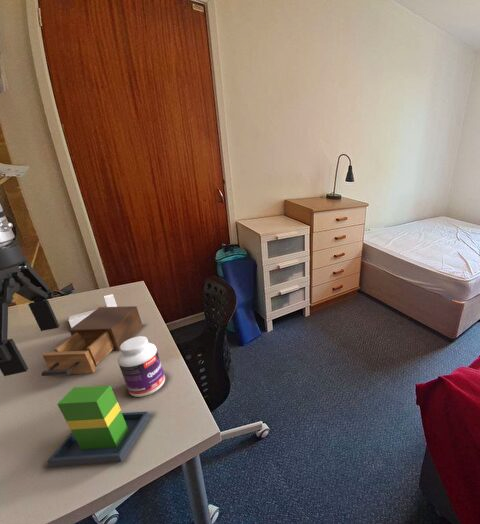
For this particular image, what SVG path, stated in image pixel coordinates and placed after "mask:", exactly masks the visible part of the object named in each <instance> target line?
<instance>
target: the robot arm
mask: <svg viewBox="0 0 480 524" xmlns="http://www.w3.org/2000/svg"><path fill="white" fill-rule="evenodd" d="M13 228H14V225H13V223H12V222H9V221H8V218H7V216H6V214H5V212H4V209H3V207H2V205H1V203H0V371H1V373H2V375H3V377H7V376H12V375H17V374H20V373H26V372H27V371H28V370H29V367H28V365H27V363H26V362H25V361H26V360H25V359H24V358H23V356H22V353H21V352H20V350H19V348H18V346H17V345H16V342H15V341H14V339H13V338H8V333H9V332H8V331H9V305H10V304H11V303H12V302H13V296H14V295H15V294H16V295H19V296H20V297H22V298H24V299H26V300H27V301H30V302H29V303H28V304H27V305H28V307H29V308H30V311H31V313H32V316H33V317H34V319H35V321H36V324H37V326H38V328H39V330H40V332H44V331H48V330H49V331H50V330H56V329H59V328H60V323H59V322H58V319H57V317H56V315H55V313H54V310H53V308H52V306H51V304H50V301H49V300H50V299H54V293H53V292H52V288H51V287H50V285H48V283H47V282H46V281H45V280H44V279H43V278H42V276H40V275H39V273H38V272H37V271H36V270H35V268H33V267H32V265H31V263H30V261H29V260H28V258H27V257H25V254H24V252H23V250H22V247H21V246H20V243H19V242H18V241H16V240H14V239H15V238H16V236H15V234H14V232H13V231H14V230H13Z"/></svg>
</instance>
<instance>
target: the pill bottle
mask: <svg viewBox="0 0 480 524" xmlns="http://www.w3.org/2000/svg"><path fill="white" fill-rule="evenodd" d="M117 364H118V366H119V369H120V371H121V374H122V377H123V380H124V383H125V385H126V387H127V391H128V393H129V394H130V395H131V396H133V397H137V398H138V397H139V398H140V397H141V398H142V397H145V396H148V395H149V396H150V395H151V394H153V393H155V392H157V391H158V390H159V389H161V388H162V386H163V385H164V384H165V381H166V374H165V372H164V368H163V366H162V362H161V359H160V355H159V353H158V349H157V347H156V345H155V344H154V343H151V342H149V340H148V338H147V337H146V336H143V335H141V336H140V335H138V336H133V337H132V338H130V339H128V340H126V341H125V342H123V343H122V344H121V346H120V353H119V355H118V357H117Z"/></svg>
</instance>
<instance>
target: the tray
mask: <svg viewBox="0 0 480 524" xmlns="http://www.w3.org/2000/svg"><path fill="white" fill-rule="evenodd" d="M121 413H122V415H123V418H124V420H125V422H126V425H127V427H128V431H127V433H126V434H125V436H124V437H123V439H122V440H121V442H120V443H119V445H118V446H117V447H114V448H100V449H86V450H81V448H80V446H79V444H78V442H77V440H76V439H75V437H74V435H73V433H72V432H71V433H70V434H69V435H68V436H67V437H66V438H65V440H64V441H63V442H62V443H61V445H60V446H59V447H58V448H57V449H56V450H55V451H54V452H53V454H52V455H51V456H50V457H49V458H48V459H47V463H48V464H49V466H50V468H57V467H69V466H81V465H95V464H108V463H121V462H123V460H124V459H125V458H126V456H127V454H128V453H129V451H130V449H131V448H132V446H133V444H134V443H135V441H136V440H137V438H138V437H139V435H140V433H141V432H142V430H143V428H144V427H145V425H146V423H147V422H148V420H149V419H150V414H149V411H134V412H133V411H132V412H121Z"/></svg>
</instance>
